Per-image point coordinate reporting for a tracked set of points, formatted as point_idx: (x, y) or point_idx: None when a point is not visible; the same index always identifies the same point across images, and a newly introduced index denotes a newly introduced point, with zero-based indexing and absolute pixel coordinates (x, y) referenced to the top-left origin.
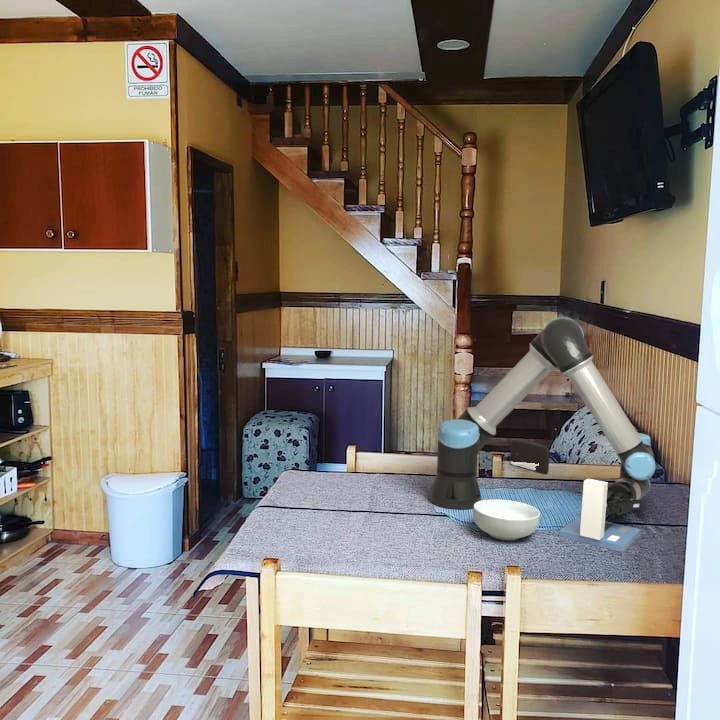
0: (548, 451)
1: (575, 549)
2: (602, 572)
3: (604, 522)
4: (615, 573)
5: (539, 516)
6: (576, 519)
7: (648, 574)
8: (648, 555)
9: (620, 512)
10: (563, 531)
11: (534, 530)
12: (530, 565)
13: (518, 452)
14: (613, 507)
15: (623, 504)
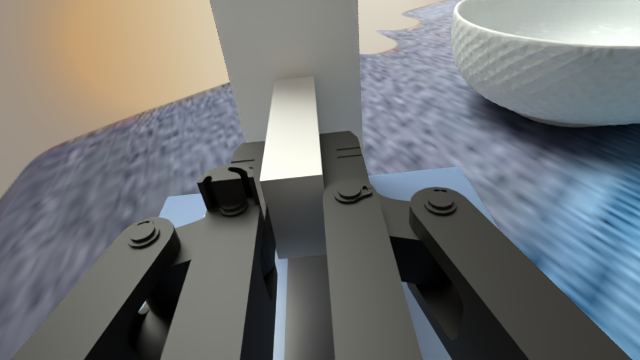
0: None
1: None
2: (222, 104)
3: (246, 140)
4: (193, 114)
5: (474, 34)
6: None
7: (106, 147)
8: (64, 258)
9: (139, 314)
10: (439, 168)
11: (462, 74)
12: (362, 61)
13: None
14: (198, 222)
15: (55, 317)
